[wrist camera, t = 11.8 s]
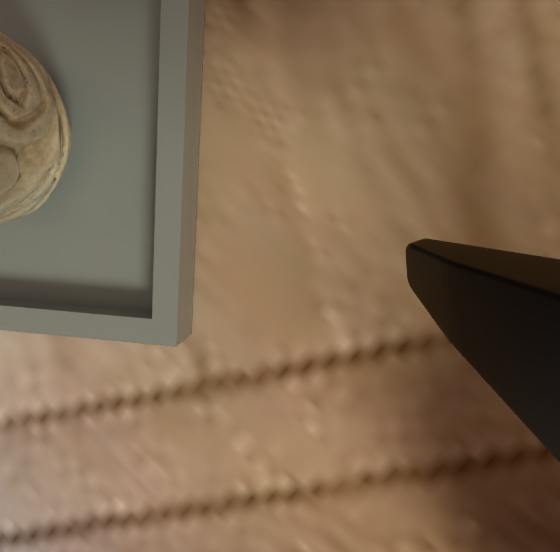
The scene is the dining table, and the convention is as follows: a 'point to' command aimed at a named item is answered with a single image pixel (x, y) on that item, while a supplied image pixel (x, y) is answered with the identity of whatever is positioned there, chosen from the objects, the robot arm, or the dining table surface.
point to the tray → (112, 173)
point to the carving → (29, 132)
